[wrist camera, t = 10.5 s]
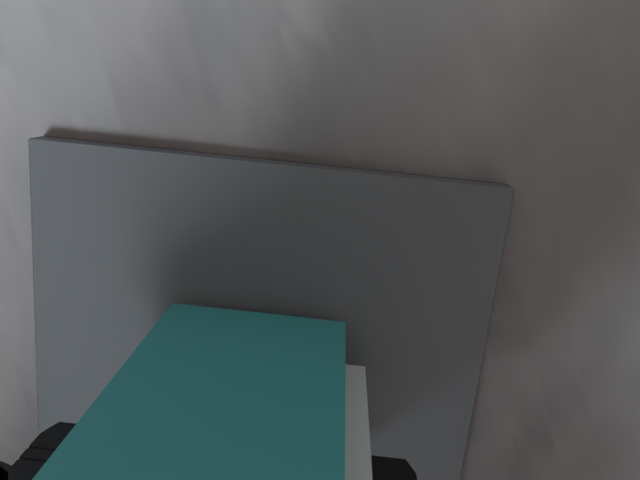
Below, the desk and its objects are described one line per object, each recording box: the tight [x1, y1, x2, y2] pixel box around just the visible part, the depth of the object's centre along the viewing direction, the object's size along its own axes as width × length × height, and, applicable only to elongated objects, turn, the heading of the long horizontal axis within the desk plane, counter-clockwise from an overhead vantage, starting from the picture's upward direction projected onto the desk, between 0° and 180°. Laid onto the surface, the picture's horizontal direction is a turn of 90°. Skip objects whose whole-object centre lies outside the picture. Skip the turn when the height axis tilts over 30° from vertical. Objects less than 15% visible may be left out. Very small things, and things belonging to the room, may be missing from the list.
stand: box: [29, 136, 514, 480], centre depth 16 cm, size 14×14×7 cm
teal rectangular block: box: [32, 303, 346, 480], centre depth 14 cm, size 5×5×8 cm
